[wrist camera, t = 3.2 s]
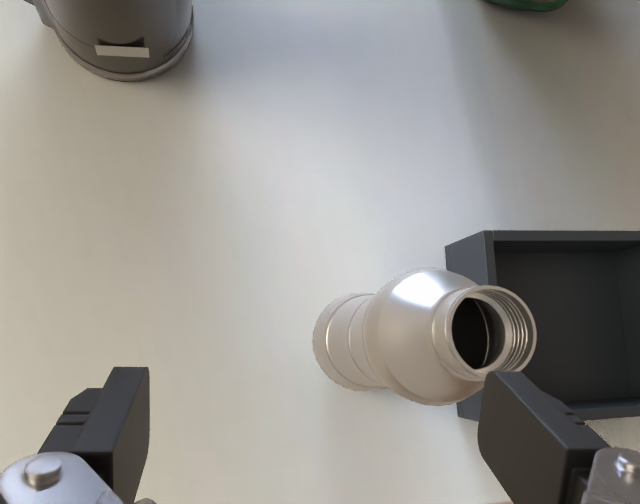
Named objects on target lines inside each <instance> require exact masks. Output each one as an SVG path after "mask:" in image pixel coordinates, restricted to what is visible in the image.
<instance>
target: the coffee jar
mask: <svg viewBox="0 0 640 504" xmlns="http://www.w3.org/2000/svg"><path fill="white" fill-rule="evenodd" d="M487 1H489V2H492V3H495V4H499V5H502V6H506V7H511V8H515V9H521V10H530V11H552V10H555V9H557V8H559V7H561V6H562V5H563V4H565V3H566V2H567V1H568V0H487Z"/></svg>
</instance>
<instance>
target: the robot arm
mask: <svg viewBox="0 0 640 504" xmlns="http://www.w3.org/2000/svg"><path fill="white" fill-rule="evenodd" d="M24 1H26V2H28V3H30V4H32V5H34V6H35V7H36V9H37V11H38V13H39V16H40V18H41V20H42V23H43V24H45V25H47V26H49V27H51V28H52V29H54V30H55V31H56V34H57V36H58V39H59V41H60V43H61V44H62V46H63V47H64V49H65V50H66V52H67V53H68V54H69V55H70V56H71V57H72V58H73V59H74V60H75V61H76V62H77V63H78V64H80V65H81V66H82V67H84V68H85V69H87V70H89V71H91V72H92V73H95V74H97V75H99V76H102V77H105V78H109V79H113V80H119V81H137V80H143V79H148V78H151V77H154V76H157V75H159V74H161V73H163V72H165V71H166V70H168V69H169V68H171V67H172V66H173V65H175V64H176V63H177V62H178V61H179V60H180V58H181V57H182V56H183V55H184V53H185V51H186V50H187V48H188V46H189V43H190V40H191V37H192V32H193V6H192V0H24ZM149 431H150V398H149V369H148V367H114V368H113V370H112V371H111V373H110V375H109V377H108V379H107V381H106V383H105V385H104V387H103V388H87V389H86V390H84V391H83V392H81V393H80V394H78V395H77V396H75V397H74V398H72V399H71V400H70V401H69V403H68V405H67V406H66V408H65V410H64V411H63V415H61V416H60V418H59V419H58V421H57V422H56V425H55V426H54V427H53V429H52V431H51V432H50V434H49V435H48V437H47V439H46V440H45V442H44V443H43V445H42V447H41V448H40V450H39V452H38V453H37V454H35V455H32V456H28V457H26V458H23V459H21V460H19V461H17V462H15V463H13V464H12V465H10V466H9V467H7V468H6V469H5V470H4V471H3V472H2V473H1V475H0V504H156V503H155V502H154V501H153V500H151V499H148V498H145V499H142V500H140V501H138V502H135V503H134V500H135V496H136V493H137V490H138V486H139V483H140V479H141V476H142V473H143V469H144V466H145V462H146V459H147V454H148V446H149ZM478 445H479V449H480V453H481V455H482V457H483V459H484V460H485V462H486V463H487V465H488V466H489V468H490V469H491V471H492V472H493V474H494V475H495V476H496V478H497V479H498V481H499V482H500V484H501V485H502V487H503V488H504V490H505V491H506V493H507V494H508V496H509V497H510V499H511V500H512V502H513V503H514V504H640V452H637V451H634V450H630V449H625V448H617V447H611V446H610V445H609V444H607V443H606V442H605V441H604V440H603V439H602V438H601V437H600V436H599V435H598V434H597V433H596V432H594V431H593V430H592V429H591V428H590V427H589V426H588V425H585V422H584V421H583V420H581V419H580V418H579V417H578V416H577V415H574V412H573V411H572V410H571V409H569V408H568V407H567V406H566V405H565V404H564V403H563V402H562V401H560V400H558V399H556V398H554V397H553V396H551V395H549V394H547V393H545V392H543V391H541V390H540V389H539V388H538V387H537V386H536V385H535V384H534V383H533V382H532V381H530V380H529V379H528V378H527V377H526V376H525V375H524V374H523V373H522V372H520V371H490V372H488V374H487V375H486V377H485V381H484V388H483V395H482V403H481V410H480V418H479V425H478Z"/></svg>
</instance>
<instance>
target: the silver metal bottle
mask: <svg viewBox="0 0 640 504" xmlns="http://www.w3.org/2000/svg"><path fill="white" fill-rule="evenodd" d="M536 339H537V332H536V325H535V321H534V319H533V316H532V314H531V312H530V310H529V308H528V307H527V305H526V304H525V303H524V302H523V301H522V299H520V298H519V297H518V296H517V295H516V294H514V293H513V292H511V291H509V290H507V289H504V288H502V287H498V286H491V285H482V286H478V285H477V284H476V283H475V282H473V281H471V280H470V279H468V278H466V277H464V276H462V275H459V274H456V273H453V272H450V271H448V270H445V269H437V268H421V269H416V270H412V271H409V272H406V273H404V274H402V275H400V276H398V277H396V278H395V279H393V280H391V281H390V282H388V283H387V284H386V285H385V286H384V287H382V288H381V289H380V290H379V291H378V292H377V293H376V294H373V293H364V292H359V293H350V294H347V295H343V296H341V297H339V298H337V299H335V300H334V301H333V302H331V303H330V304H329V305H328V306H327V307H326V308H325V309H324V310H323V311H322V313H321V314H320V316H319V318H318V320H317V322H316V324H315V327H314V331H313V339H312V343H313V351H314V354H315V357H316V360H317V362H318V363H319V365H320V367H321V369H322V370H323V371H324V372H325V373H326V375H327V376H328V377H329V378H330V379H332V380H333V381H334V382H335V383H337V384H339V385H341V386H343V387H344V388H348V389H351V390H354V391H371V390H377V389H380V388H383V387H387V388H389V389H390V390H392V391H393V392H395V393H396V394H398V395H400V396H402V397H404V398H406V399H409V400H411V401H414V402H417V403H421V404H424V405H433V406H441V405H450V404H453V403H456V402H459V401H462V400H464V399H466V398H468V397H470V396H471V395H473V394H475V393H476V392H478V391H480V390H481V389H482V388H483V387H484V381H485V377H486V375H487V374H488V372H490V371H521V370H522V369H523V368H524V367H525V366H526V365H527V364H528V362H529V361H530V359H531V358H532V355H533V353H534V350H535V346H536Z"/></svg>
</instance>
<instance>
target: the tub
mask: <svg viewBox="0 0 640 504" xmlns="http://www.w3.org/2000/svg"><path fill="white" fill-rule="evenodd" d="M445 254H446V267H447V270H448V271H450V272H453V273H456V274H459V275H462V276H464V277H466V278H468V279H470V280H471V281H473V282H475V283H476V284H477V285H478V286H482V285H491V286H498V287H502V288H504V289H507V290H509V291H511V292H513V293H514V294H516V295H517V296H518V297H519V298H520V299H522V301H523V302H524V303H525V304H526V305H527V307H528V308H529V310H530V312H531V314H532V316H533V319H534V321H535V325H536V332H537V339H536V346H535V350H534V353H533V355H532V358H531V359H530V361H529V362H528V364H527V365H526V366H525V367H524V368H523V369H522V370H521V371H520V372H522V373H523V374H524V375H525V376H526V377H527V378H528V379H529V380H530V381H532V382H533V383H534V384H535V385H536V386H537V387H538V388H539V389H540V390H541V391H543V392H545V393H547V394H549V395H551V396H553V397H554V398H556V399H558V400H560V401H562V402H563V403H564V404H565V405H566V406H567V407H568V408H569V409H571V410H572V411H573V412H574V415H577V416H578V417H579V418H580V419H581V420H596V419H609V418H622V417H635V416H640V231H514V230H493V231H491V230H484V231H481V232H479V233H476V234H474V235H471V236H469V237H467V238H464V239H462V240H459V241H457V242H454V243H452V244H450V245H447V246H445ZM483 388H484V387H483ZM483 388H482V389H481V390H480V391H478V392H476V393H475V394H473V395H471V396H470V397H468V398H466V399H464V400H462V401H459V402H457V412H458V417H461V418H465V419H470V420H474V421H478V422H479V418H480V410H481V403H482V395H483Z"/></svg>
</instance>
